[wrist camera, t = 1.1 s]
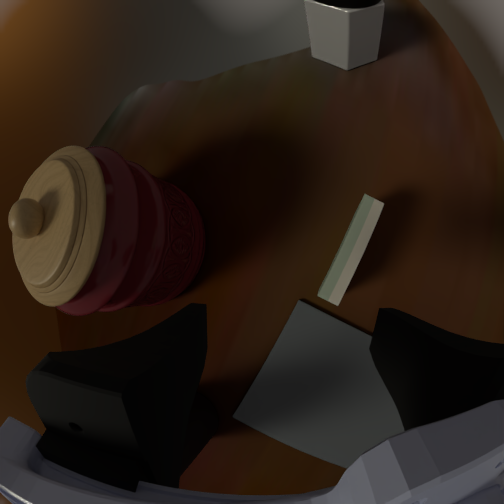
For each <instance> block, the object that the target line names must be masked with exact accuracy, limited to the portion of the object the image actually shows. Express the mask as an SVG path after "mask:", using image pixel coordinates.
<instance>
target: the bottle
mask: <svg viewBox="0 0 504 504" xmlns="http://www.w3.org/2000/svg"><path fill="white" fill-rule="evenodd" d="M217 428H218V416H217V412H216V410H215V409H214V407H213V405H212V404H211V403H210V402H209V401H208V400H207V399H206V398H205V397H204V396H202V395H201V394H199V393H197V392H196V394H195V397H194V400H193V403H192V406H191V410H190V414H189V419H188V424H187V430H186V435H185V442H184V448H183V455H182V462H181V470H180V476H181V475H182V474H183V472H184V471H185V470H186V469H187V468H188V466H189V465H190V464H191V463H192V462H193V460H194V459H195V458H196V457H197V455H198V454H199V453H200V452H201V450H202V449H203V448H204V447H205V445H206V444H207V443H208V442H209V440H210V439H211V438H212V437H213V435H214V434H215V432H216V430H217Z"/></svg>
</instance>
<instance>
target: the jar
mask: <svg viewBox="0 0 504 504" xmlns="http://www.w3.org/2000/svg"><path fill="white" fill-rule="evenodd" d="M304 5H305V10H306V17H307V23H308V29H309V37H310V43H311V52H312V57H314V58H317V59H319V60H322V61H325V62H327V63H330V64H332V65H335V66H337V67H340V68H342V69H345V70H350V69H353V68H355V67H358V66H361V65H364V64H367V63H369V62H372V61H375V60H377V57H378V51H379V45H380V38H381V31H382V24H383V16H384V7H385V4H384V2H383V0H304Z"/></svg>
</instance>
